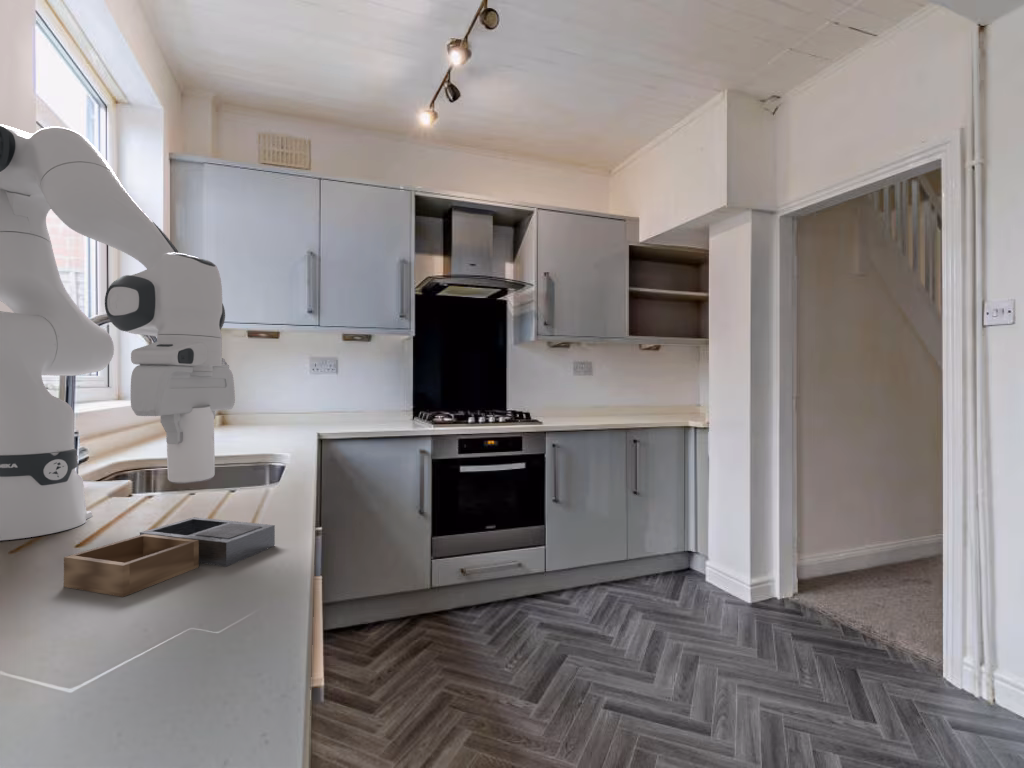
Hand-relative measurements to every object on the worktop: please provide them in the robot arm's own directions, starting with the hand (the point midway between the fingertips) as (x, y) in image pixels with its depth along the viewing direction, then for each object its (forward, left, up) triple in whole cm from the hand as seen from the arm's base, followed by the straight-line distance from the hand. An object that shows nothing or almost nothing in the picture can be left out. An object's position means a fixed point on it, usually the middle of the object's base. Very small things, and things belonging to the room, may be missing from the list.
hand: (189, 441), depth 81 cm
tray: (+4, 0, -17) cm, 18 cm away
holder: (+4, -11, -17) cm, 21 cm away
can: (0, +1, -7) cm, 7 cm away
